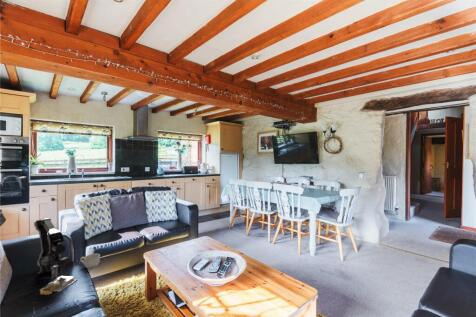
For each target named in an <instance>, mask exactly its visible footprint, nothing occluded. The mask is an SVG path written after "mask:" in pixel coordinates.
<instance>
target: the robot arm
mask: <svg viewBox="0 0 476 317" xmlns="http://www.w3.org/2000/svg"><path fill="white" fill-rule="evenodd" d="M33 226H34V228H35V230H36V232H38V234H39V241H40V249H41V250H40V254H39V255H38V259H37V261H36V263H37V266H38V267H39V272H37V274H38V275H47V274H49V273H50V272H52V269H51V266H53V263H54V262H57V265H58V270H59V271H58V272H59V273H60V274H61V273H62V271H63V270H64V268H65V267H66V265H67V263H69V262H70V261H71V257H69V256H64V257H62V255H61V254H63V253H64V252H65V251H66V246H65V245H64V244H63V243H62V242H65V241H64V240H65V238H64V235H63V233H62V232H61V231H60V230H59V229H56V227H55V226H54V224H53V222H52V219H51V217H46V218H42V219H37V220H36V221H34V223H33Z"/></svg>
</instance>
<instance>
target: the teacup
mask: <svg viewBox="0 0 476 317" xmlns="http://www.w3.org/2000/svg"><path fill="white" fill-rule="evenodd" d="M100 257H101V254H100V253H91V254H87V255H86V256H81V257H80V258H79V261H80V263H82V264H83V266H84V268H87V269H93V268H95V267H97V266H98V265H99V264H100V263H101V262H100V261H101V259H100Z"/></svg>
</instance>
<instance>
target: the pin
mask: <svg viewBox="0 0 476 317" xmlns="http://www.w3.org/2000/svg"><path fill="white" fill-rule="evenodd" d="M51 269H52V271H51V281H53V280H55V279H57V278H58V269H59V266H58V264H54V265H53V264H52V266H51Z"/></svg>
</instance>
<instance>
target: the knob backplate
mask: <svg viewBox="0 0 476 317" xmlns="http://www.w3.org/2000/svg"><path fill="white" fill-rule="evenodd" d="M76 280H77V279H75V276H71V275H69V276H68V275H61V276H57V279H55V280H51V281H50V282H49V283H47V285H45V286H43V287H42V288H40V289H39V294H40V295H46V296H47V295H48V296H50V295H51V294H53V292H55V293H61V292H62V291H64V290H65V289H66V288H68V287H70V286H71V285H73V283H75V282H77V281H76ZM49 294H50V295H49Z"/></svg>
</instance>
